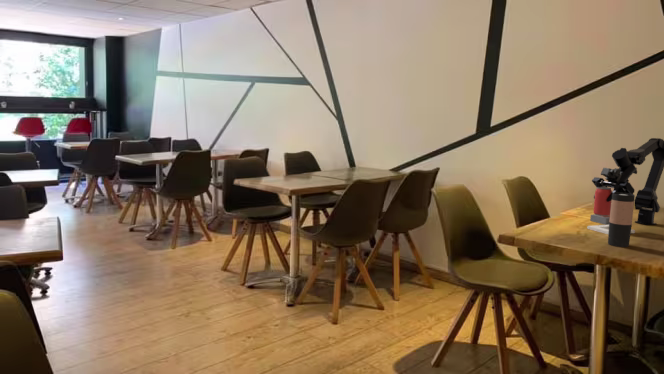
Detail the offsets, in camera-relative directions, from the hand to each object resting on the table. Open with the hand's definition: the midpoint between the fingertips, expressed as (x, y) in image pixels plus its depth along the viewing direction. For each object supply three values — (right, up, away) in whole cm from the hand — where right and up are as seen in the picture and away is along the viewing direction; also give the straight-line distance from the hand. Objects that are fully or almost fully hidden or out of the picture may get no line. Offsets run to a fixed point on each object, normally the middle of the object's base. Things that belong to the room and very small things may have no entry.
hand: (600, 199), depth 222 cm
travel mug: (-7, -17, -25) cm, 31 cm away
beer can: (+1, -7, +1) cm, 7 cm away
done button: (+11, -9, +17) cm, 23 cm away
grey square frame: (+11, -11, +17) cm, 24 cm away
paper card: (+4, -14, -1) cm, 14 cm away
